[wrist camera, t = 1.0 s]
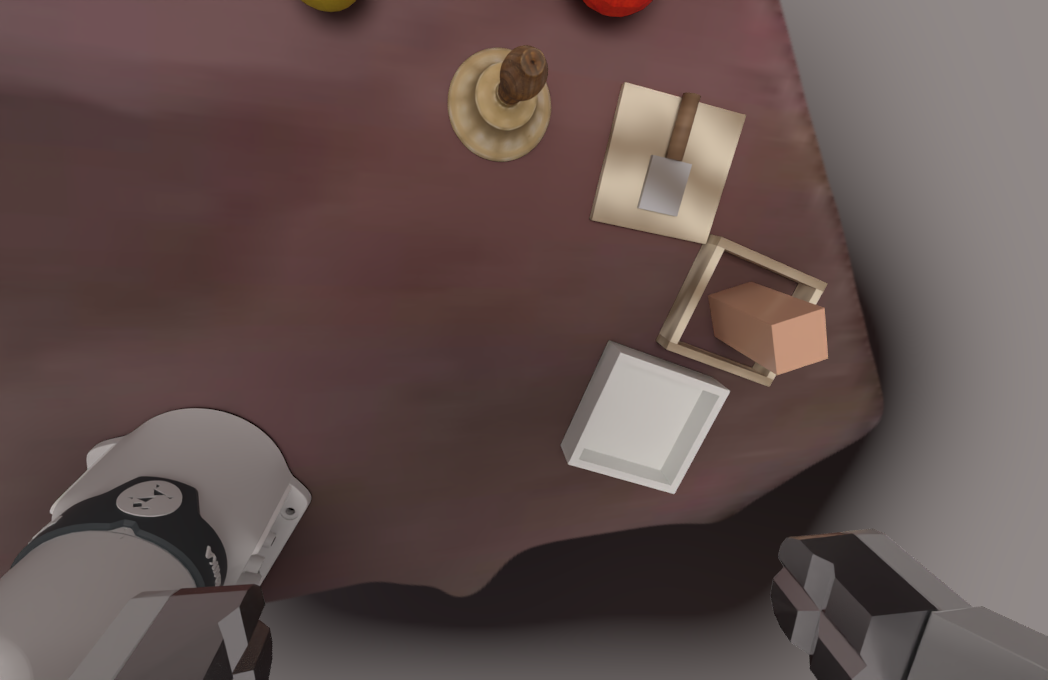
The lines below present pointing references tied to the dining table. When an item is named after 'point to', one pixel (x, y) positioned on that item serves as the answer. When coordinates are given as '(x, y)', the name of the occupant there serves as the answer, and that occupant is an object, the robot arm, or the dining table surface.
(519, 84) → the hand bell
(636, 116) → the lid with scoop
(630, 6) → the apple
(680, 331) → the birch bin
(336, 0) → the lemon
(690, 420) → the white square tray
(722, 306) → the terracotta brick
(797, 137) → the dining table surface
